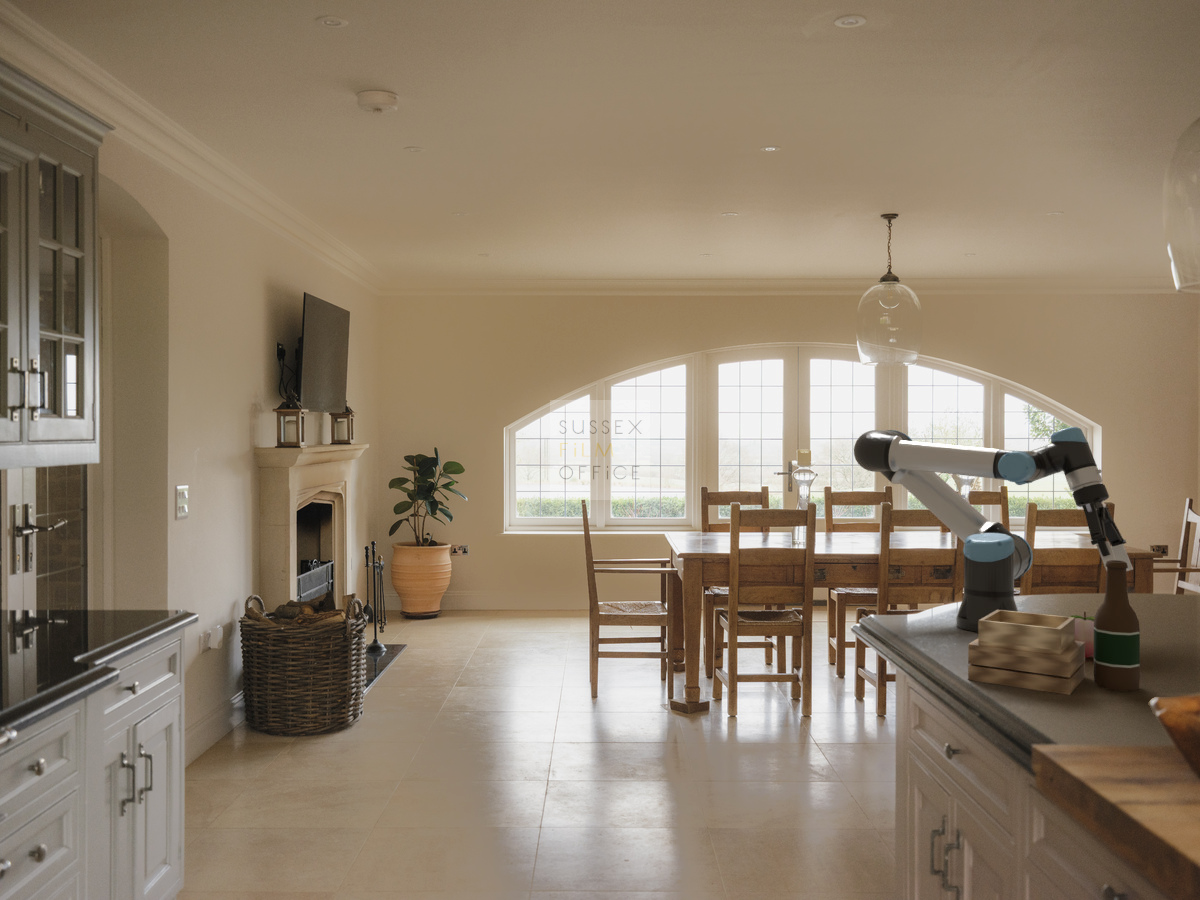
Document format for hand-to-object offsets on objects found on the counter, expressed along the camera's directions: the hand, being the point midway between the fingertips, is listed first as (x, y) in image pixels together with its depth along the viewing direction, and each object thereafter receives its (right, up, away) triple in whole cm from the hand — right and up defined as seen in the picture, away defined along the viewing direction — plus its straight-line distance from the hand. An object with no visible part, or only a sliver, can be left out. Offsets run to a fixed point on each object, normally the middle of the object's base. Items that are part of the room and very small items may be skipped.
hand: (1120, 570), depth 220 cm
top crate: (-41, -9, -39) cm, 57 cm away
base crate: (-41, -16, -39) cm, 59 cm away
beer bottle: (-26, -16, -45) cm, 55 cm away
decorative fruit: (-20, -16, -21) cm, 33 cm away
